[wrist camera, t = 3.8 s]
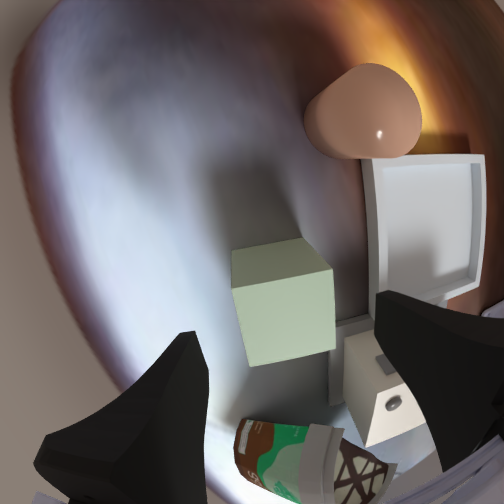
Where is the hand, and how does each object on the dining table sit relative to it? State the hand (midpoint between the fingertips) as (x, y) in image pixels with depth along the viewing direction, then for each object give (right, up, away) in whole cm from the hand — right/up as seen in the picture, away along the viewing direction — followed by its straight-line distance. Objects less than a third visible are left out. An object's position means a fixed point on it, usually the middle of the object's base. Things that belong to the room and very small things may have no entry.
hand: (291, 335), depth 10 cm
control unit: (+9, -4, +8) cm, 13 cm away
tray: (+10, +5, +5) cm, 13 cm away
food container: (-1, -16, +9) cm, 18 cm away
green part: (0, +2, +6) cm, 6 cm away
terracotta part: (+3, +10, +3) cm, 11 cm away
